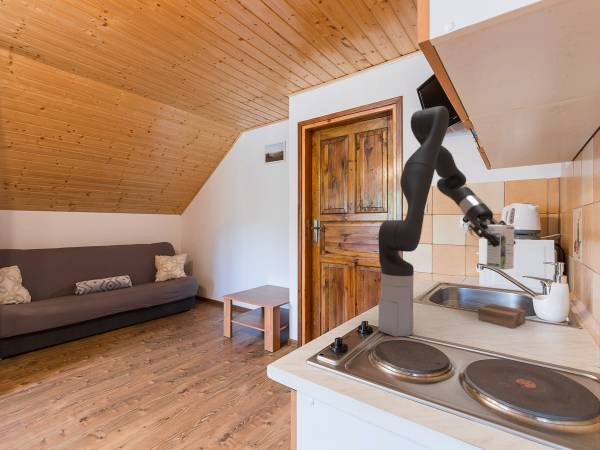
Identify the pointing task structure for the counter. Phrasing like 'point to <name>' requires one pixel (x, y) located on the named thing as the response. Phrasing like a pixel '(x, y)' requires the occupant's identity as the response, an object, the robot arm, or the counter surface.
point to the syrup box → (501, 247)
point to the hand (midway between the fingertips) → (505, 245)
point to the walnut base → (501, 315)
